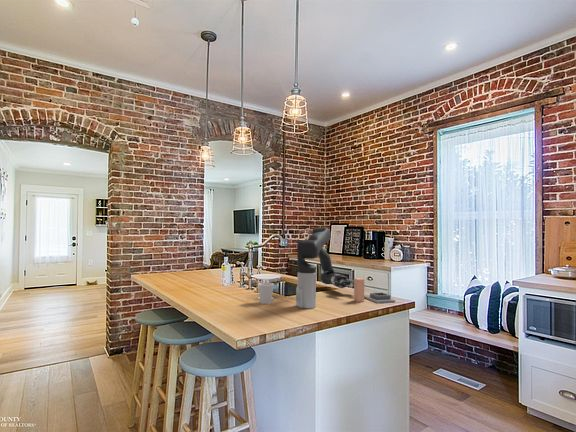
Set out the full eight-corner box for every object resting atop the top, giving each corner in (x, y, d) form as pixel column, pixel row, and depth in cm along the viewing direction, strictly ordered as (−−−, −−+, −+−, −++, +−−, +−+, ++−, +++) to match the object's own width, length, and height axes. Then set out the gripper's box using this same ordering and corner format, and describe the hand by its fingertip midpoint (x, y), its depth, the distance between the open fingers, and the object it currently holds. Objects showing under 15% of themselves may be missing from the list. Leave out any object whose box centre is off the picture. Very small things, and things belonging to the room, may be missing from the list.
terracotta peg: (357, 302, 178) (357, 279, 179) (354, 300, 182) (354, 278, 183) (364, 301, 180) (364, 279, 180) (360, 300, 183) (360, 278, 184)
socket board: (377, 303, 176) (377, 297, 176) (362, 297, 190) (362, 292, 190) (395, 302, 179) (395, 296, 179) (379, 296, 193) (379, 291, 193)
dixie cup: (274, 301, 178) (274, 282, 179) (272, 304, 170) (272, 285, 170) (259, 300, 179) (259, 282, 180) (256, 304, 171) (256, 284, 171)
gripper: (328, 275, 203) (340, 279, 187) (349, 274, 207) (362, 278, 191) (328, 287, 203) (340, 292, 187) (349, 286, 207) (362, 291, 191)
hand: (351, 285), depth 189 cm, fingers open, 8 cm apart
